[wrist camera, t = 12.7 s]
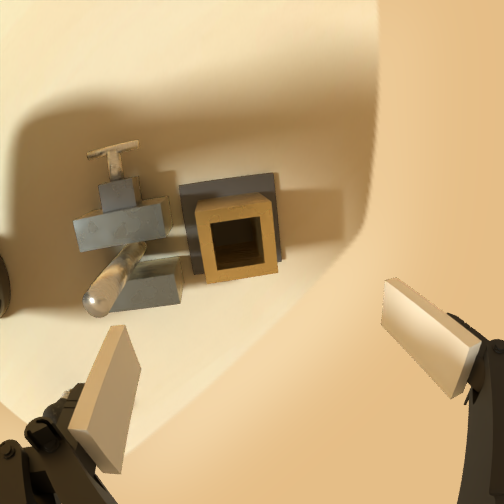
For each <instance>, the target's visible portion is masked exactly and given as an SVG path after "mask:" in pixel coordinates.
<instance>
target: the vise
mask: <svg viewBox="0 0 504 504" xmlns="http://www.w3.org/2000/svg"><path fill="white" fill-rule="evenodd" d="M139 147H140V146H139V141H138V140H133V141H129V142H124V143H120V144H116V145H112V146H108V147H104V148H100V149H96V150H92V151H89V152H87V158H88V160H92V159H96V158H100V157H104V156H107V164H108V171H109V177H110V182H108V183H104V184H101V185H98V188H99V194H100V199H101V205H102V209H98V210H93V211H91V212H89V213H87V214H85V215H83V216H81V217H79V218H77V219H75V220H73V224H74V229H75V233H76V237H77V241H78V245H79V249H80V252H84V251H90V250H95V249H101V248H106V247H112V246H118V245H124V244H127V245H126V246H125V247H124V248H123V249H122V250H121V251H120V252H119V254H118V255H117V256H116V257H115V258H114V259H113V261H112V262H111V263H110V264H109V265H108V266H107V267H106V268H105V269H104V270H103V271H102V272H101V273H100V275H99V276H98V277H97V278H96V279H95V281H94V282H93V283H92V284H91V285H90V288H89V289H88V291H87V292H86V293H85V294H84V296H83V306H84V308H85V310H86V311H87V312H88V313H89V314H90V315H92V316H94V317H98V318H101V317H104V316H106V315H107V314H108V313H110V312H119V311H127V310H135V309H144V308H151V307H159V306H167V305H174V304H181V298H182V292H183V286H184V279H183V274H182V269H181V264H180V259H179V256H176V257H170V258H163V259H157V260H150V261H144V262H139V261H140V259H141V258H142V256H143V255H144V253H145V251H146V243H145V241H147V240H153V239H160V238H166V237H167V235H168V233H169V231H170V229H171V228H172V226H173V221H172V216H171V210H170V204H169V198H168V196H165V197H159V198H154V199H148V200H143V201H142V197H141V191H140V185H139V178H138V176H136V177H131V178H126V179H124V175H123V169H122V162H121V154H120V153H121V152H125V151H129V150H134V149H139Z"/></svg>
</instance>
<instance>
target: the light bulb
mask: <svg viewBox="0 0 504 504" xmlns="http://www.w3.org/2000/svg"><path fill="white" fill-rule="evenodd" d="M69 393H70V391H69V392H68V391H65V392H64V393H63V394H62V397H61V398H60V399H59V400H58V401H57V402H56V403H54V404H52V405H50V406H48V407H47V408H46V409H45V411H44V413H43V417H48V418H50V419H51V420H52V421H53V422H54V423H55V425H56V424H57V422H58V419H59V417H60V414H61V412H62V409H64V405H65V402H67V398H68V395H69Z"/></svg>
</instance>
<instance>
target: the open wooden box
mask: <svg viewBox="0 0 504 504" xmlns="http://www.w3.org/2000/svg"><path fill="white" fill-rule="evenodd" d="M195 218H196V224H197V230H198V236H199V242H200V248H201V254H202V259H203V265H204V271H205V276H206V282H207V284H210V283H216V282H223V281H229V280H236V279H242V278H248V277H255V276H261V275H267V274H273V273H278V265H277V254H276V243H275V233H274V223H273V213H272V203H271V201H270V200H268V199H267V198H266V197H264V196H263V195H261V194H260V193H259V192H254V193H246V194H239V195H232V196H225V197H218V198H211V199H204V200H198V202H197V206H196V210H195ZM244 218H251V226H252V234H253V241H249V242H243V243H236V244H229V245H223V246H216V247H215V241H214V234H213V228H212V223H216V222H223V221H230V220H237V219H244Z"/></svg>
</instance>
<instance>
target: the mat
mask: <svg viewBox="0 0 504 504" xmlns="http://www.w3.org/2000/svg"><path fill="white" fill-rule="evenodd" d="M179 190H180V197H181V203H182V209H183V216H184V222H185V228H186V233H187V239H188V245H189V250H190V256H191V261H192V266H193V272H194V275H197V274H203V273H205V271H204V265H203V259H202V254H201V248H200V242H199V236H198V230H197V224H196V218H195V210H196V206H197V202H198V200H204V199H211V198H218V197H225V196H232V195H239V194H246V193H254V192H259V193H260V194H261V195H263V196H264V197H266V198H267V199H268V200H270V201H271V203H272V213H273V223H274V233H275V243H276V254H277V262H281V261H282V260H281V248H280V237H279V226H278V215H277V205H276V195H275V185H274V175H273V173H266V174H257V175H249V176H241V177H233V178H225V179H218V180H211V181H205V182H198V183H192V184H185V185H179ZM212 228H213V234H214V241H215V247H216V246H223V245H229V244H236V243H243V242H249V241H253V234H252V226H251V218H244V219H237V220H230V221H223V222H216V223H212Z"/></svg>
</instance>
